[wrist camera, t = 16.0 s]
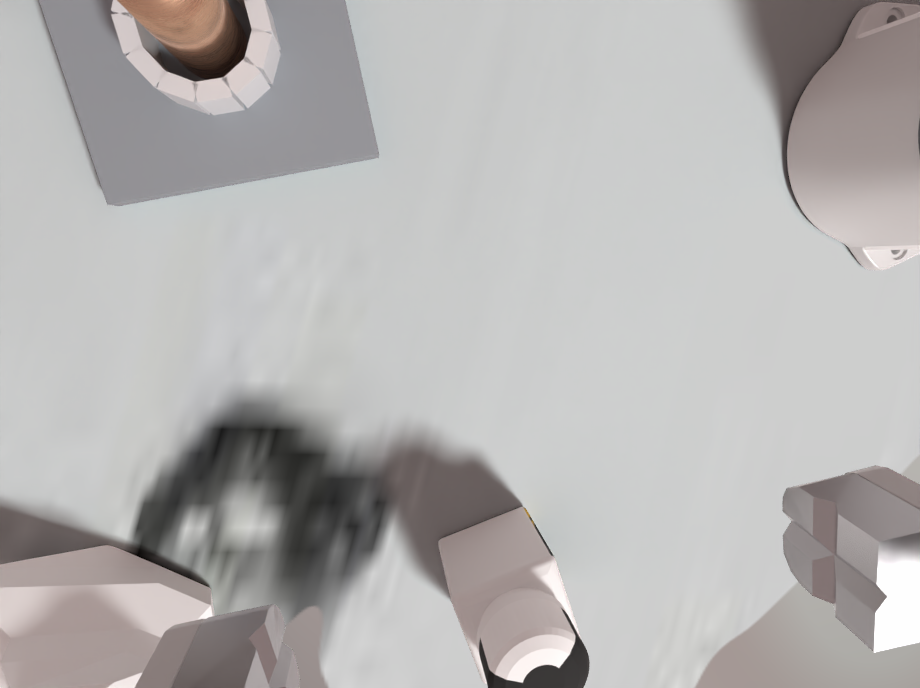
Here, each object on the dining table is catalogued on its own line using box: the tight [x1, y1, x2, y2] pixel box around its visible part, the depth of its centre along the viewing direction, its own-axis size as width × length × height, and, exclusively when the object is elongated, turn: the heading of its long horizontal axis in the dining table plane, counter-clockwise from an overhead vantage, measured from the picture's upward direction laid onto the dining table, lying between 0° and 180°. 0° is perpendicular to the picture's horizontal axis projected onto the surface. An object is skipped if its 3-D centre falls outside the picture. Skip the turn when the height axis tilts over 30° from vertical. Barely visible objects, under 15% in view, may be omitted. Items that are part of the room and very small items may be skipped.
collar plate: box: [39, 0, 379, 206], centre depth 30 cm, size 16×15×4 cm
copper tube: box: [117, 0, 247, 80], centre depth 26 cm, size 4×4×10 cm
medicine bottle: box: [438, 507, 589, 688], centre depth 36 cm, size 7×7×12 cm
